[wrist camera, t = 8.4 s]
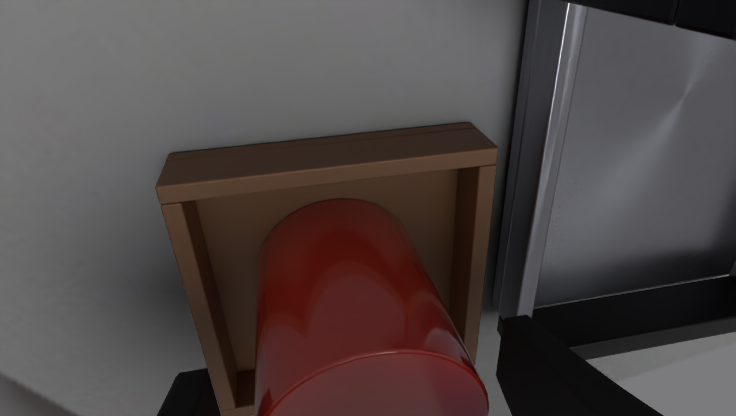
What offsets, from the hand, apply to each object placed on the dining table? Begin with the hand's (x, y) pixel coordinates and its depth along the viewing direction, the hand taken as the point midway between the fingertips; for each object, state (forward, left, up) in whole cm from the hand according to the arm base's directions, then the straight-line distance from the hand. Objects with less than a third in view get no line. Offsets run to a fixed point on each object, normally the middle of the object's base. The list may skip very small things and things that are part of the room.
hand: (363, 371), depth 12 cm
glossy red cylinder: (0, 0, -4) cm, 4 cm away
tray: (0, 0, -5) cm, 5 cm away
